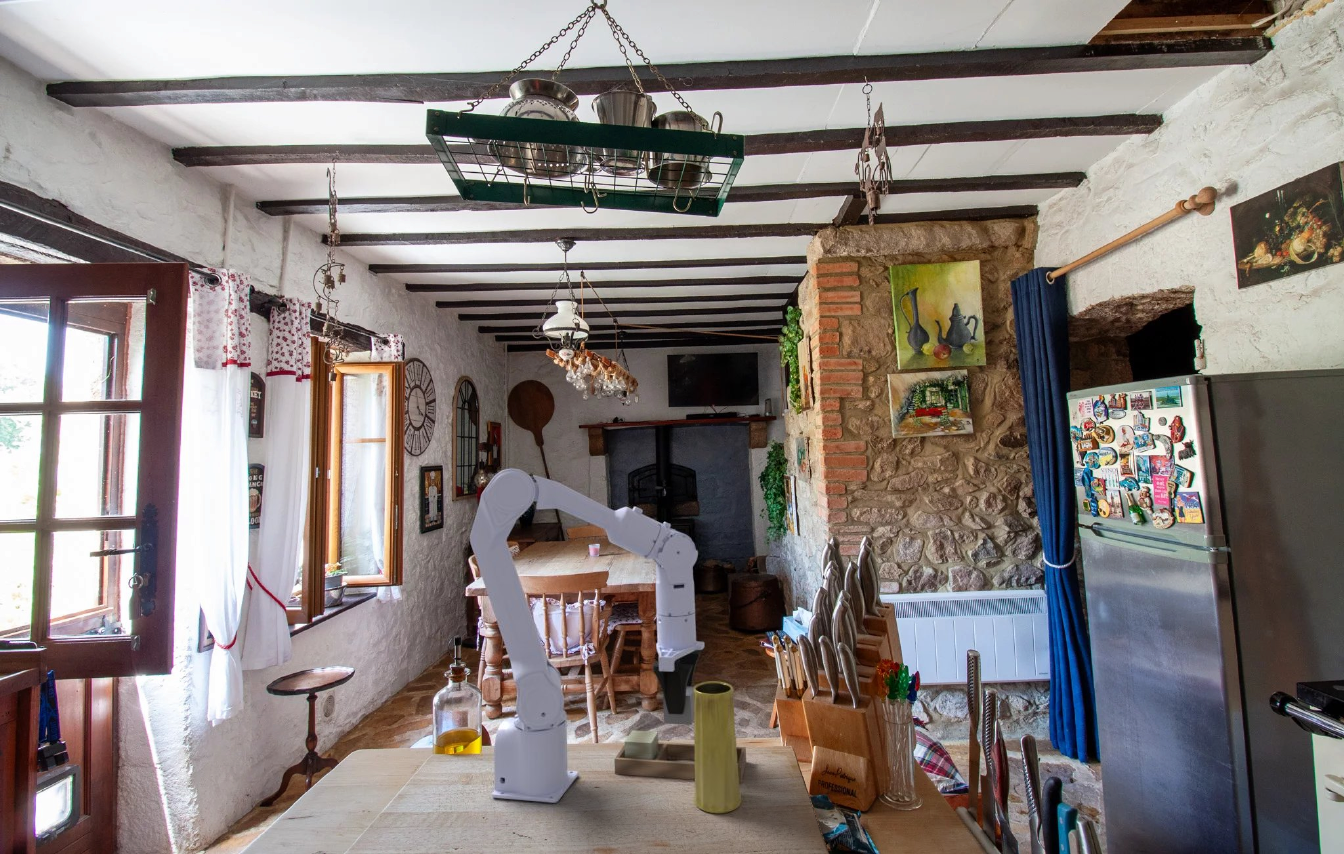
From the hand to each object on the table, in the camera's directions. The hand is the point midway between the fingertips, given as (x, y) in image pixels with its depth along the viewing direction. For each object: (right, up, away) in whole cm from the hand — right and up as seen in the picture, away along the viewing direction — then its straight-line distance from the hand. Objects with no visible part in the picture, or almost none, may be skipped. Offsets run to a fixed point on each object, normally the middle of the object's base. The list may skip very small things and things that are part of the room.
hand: (679, 707), depth 89 cm
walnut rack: (0, -8, -1) cm, 8 cm away
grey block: (0, -2, 0) cm, 2 cm away
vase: (+5, -8, -10) cm, 14 cm away
